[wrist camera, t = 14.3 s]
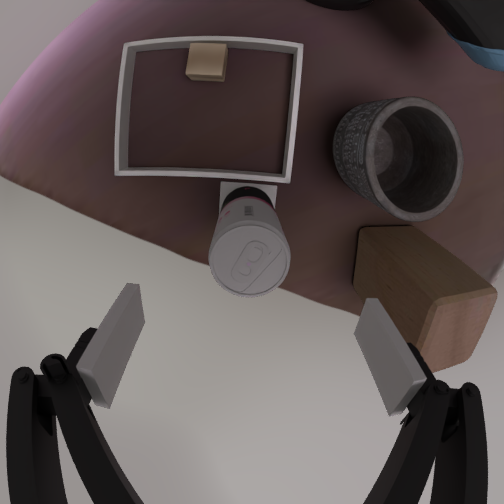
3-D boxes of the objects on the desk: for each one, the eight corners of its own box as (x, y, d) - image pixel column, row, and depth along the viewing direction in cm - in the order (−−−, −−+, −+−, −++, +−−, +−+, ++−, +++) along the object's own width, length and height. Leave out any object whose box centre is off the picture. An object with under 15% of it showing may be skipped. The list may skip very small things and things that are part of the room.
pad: (221, 181, 34) (220, 181, 34) (276, 185, 35) (277, 186, 34) (218, 233, 37) (218, 234, 37) (270, 237, 37) (271, 238, 37)
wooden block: (350, 286, 41) (405, 384, 23) (357, 225, 37) (437, 305, 19) (403, 281, 41) (470, 362, 23) (414, 223, 37) (503, 290, 19)
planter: (388, 204, 36) (440, 237, 24) (311, 175, 34) (345, 198, 22) (414, 127, 31) (475, 134, 19) (339, 89, 29) (386, 72, 18)
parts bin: (132, 48, 26) (124, 43, 23) (298, 50, 27) (303, 44, 25) (124, 171, 33) (114, 175, 30) (286, 179, 34) (289, 183, 31)
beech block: (196, 52, 27) (190, 43, 24) (228, 53, 27) (226, 44, 24) (192, 80, 29) (185, 74, 25) (224, 82, 29) (221, 75, 25)
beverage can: (282, 201, 35) (308, 249, 21) (256, 243, 37) (264, 310, 24) (237, 176, 34) (232, 207, 20) (212, 220, 36) (193, 277, 22)
